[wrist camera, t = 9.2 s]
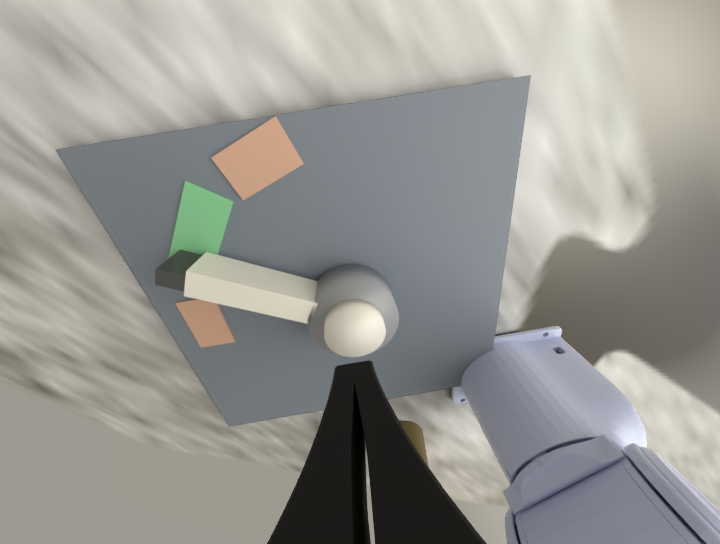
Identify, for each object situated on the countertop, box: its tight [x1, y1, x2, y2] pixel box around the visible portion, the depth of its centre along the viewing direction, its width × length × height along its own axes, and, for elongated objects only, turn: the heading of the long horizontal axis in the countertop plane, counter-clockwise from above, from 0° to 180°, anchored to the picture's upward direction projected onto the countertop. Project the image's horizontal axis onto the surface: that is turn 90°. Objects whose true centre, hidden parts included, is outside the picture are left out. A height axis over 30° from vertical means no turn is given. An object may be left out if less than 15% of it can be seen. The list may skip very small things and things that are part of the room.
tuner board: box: [56, 75, 531, 426], centre depth 19 cm, size 24×23×1 cm
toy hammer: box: [155, 250, 399, 357], centre depth 16 cm, size 14×6×4 cm, turn 70°
